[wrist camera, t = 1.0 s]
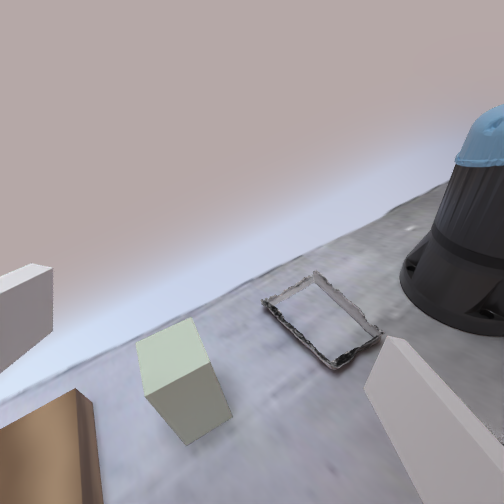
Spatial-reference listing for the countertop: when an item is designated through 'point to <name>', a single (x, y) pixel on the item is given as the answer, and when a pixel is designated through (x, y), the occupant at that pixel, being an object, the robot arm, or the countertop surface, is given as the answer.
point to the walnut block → (52, 455)
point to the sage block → (182, 381)
